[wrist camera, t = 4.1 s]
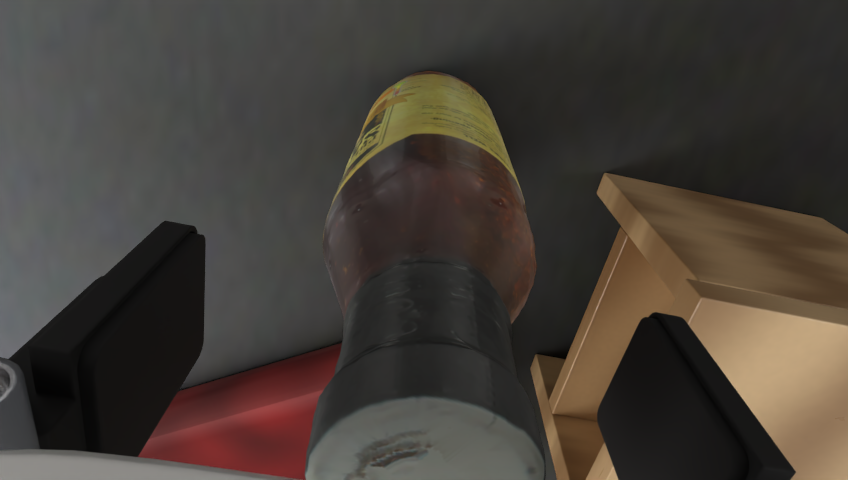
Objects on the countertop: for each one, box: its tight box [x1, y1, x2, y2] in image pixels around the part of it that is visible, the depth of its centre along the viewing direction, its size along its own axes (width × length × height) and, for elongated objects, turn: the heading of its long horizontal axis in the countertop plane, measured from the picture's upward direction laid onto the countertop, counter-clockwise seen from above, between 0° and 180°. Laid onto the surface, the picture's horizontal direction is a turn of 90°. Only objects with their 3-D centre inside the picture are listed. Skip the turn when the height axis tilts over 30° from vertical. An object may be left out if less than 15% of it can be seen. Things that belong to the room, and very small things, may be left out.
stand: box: [530, 173, 848, 480], centre depth 25 cm, size 13×13×12 cm
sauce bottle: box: [305, 71, 546, 480], centre depth 17 cm, size 7×6×20 cm
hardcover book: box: [138, 343, 342, 480], centre depth 33 cm, size 12×21×4 cm, turn 110°
